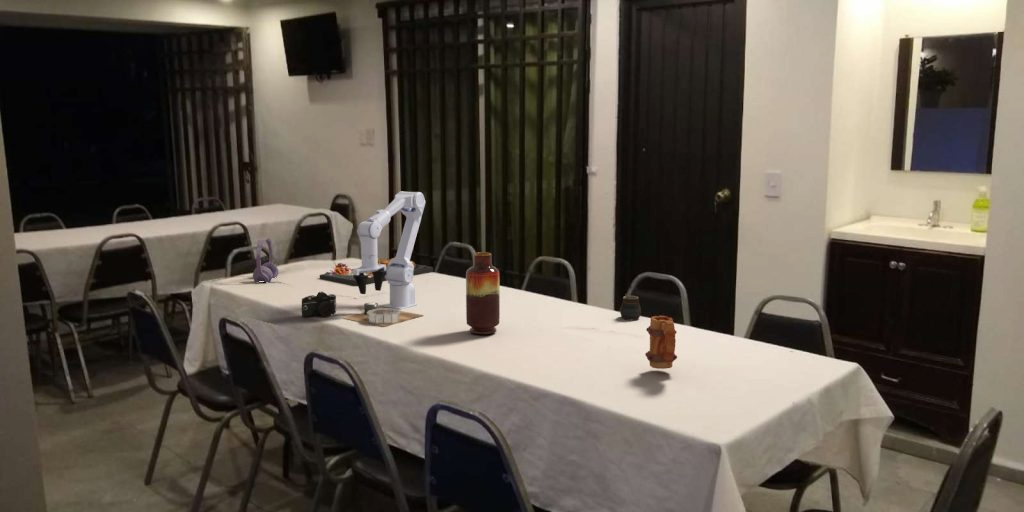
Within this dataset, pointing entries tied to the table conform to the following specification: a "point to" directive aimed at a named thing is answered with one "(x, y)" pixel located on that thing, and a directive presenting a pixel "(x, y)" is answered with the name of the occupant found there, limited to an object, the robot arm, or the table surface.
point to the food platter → (347, 273)
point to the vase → (482, 295)
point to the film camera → (319, 305)
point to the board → (363, 319)
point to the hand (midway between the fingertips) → (370, 292)
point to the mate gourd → (630, 307)
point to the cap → (370, 307)
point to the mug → (661, 342)
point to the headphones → (266, 269)
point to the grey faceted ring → (383, 316)
